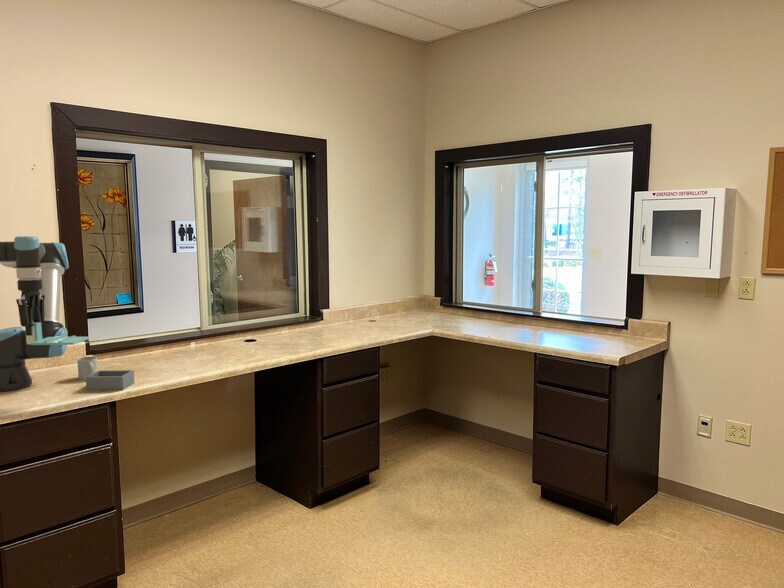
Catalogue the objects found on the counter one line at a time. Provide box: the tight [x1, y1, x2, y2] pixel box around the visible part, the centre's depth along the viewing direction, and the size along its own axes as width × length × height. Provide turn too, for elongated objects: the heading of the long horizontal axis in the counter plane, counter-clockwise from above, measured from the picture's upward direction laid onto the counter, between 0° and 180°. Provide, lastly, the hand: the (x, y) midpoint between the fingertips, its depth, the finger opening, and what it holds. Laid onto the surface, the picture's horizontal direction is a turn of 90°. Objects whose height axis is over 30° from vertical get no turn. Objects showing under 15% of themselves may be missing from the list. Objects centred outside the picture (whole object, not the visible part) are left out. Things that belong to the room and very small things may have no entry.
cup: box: [76, 356, 99, 381], centre depth 234 cm, size 7×10×9 cm
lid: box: [24, 322, 90, 346], centre depth 206 cm, size 19×11×7 cm, turn 91°
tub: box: [85, 369, 135, 391], centre depth 222 cm, size 14×10×6 cm
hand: (34, 342), depth 206 cm, fingers closed on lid, 3 cm apart
